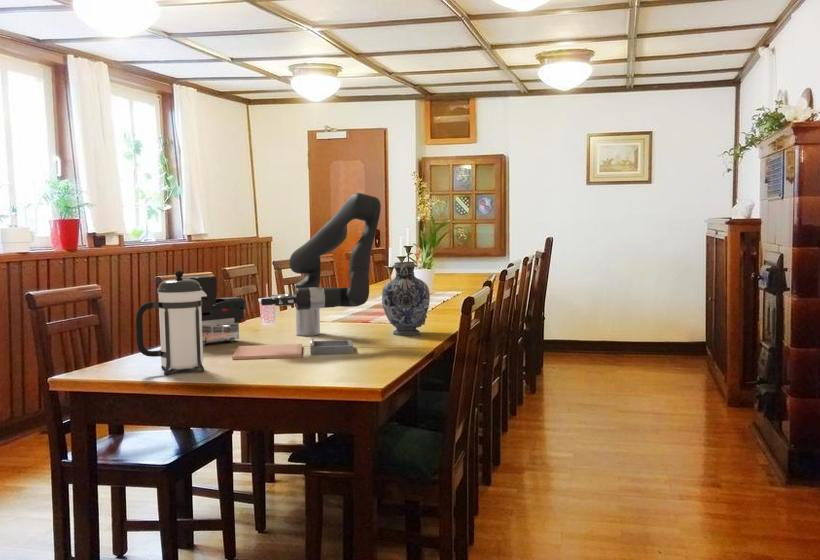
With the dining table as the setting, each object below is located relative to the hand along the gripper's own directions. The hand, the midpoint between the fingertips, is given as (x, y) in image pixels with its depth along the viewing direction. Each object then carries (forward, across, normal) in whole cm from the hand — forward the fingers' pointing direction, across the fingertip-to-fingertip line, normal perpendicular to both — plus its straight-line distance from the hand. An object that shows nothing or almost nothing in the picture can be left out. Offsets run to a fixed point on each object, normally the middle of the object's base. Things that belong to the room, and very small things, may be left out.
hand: (260, 301), depth 260 cm
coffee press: (+27, +23, +18) cm, 40 cm away
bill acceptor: (+15, -31, +18) cm, 38 cm away
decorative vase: (-58, -26, +18) cm, 66 cm away
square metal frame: (-23, +4, +18) cm, 29 cm away
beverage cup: (-2, 0, +8) cm, 9 cm away
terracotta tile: (-2, 0, +18) cm, 18 cm away
